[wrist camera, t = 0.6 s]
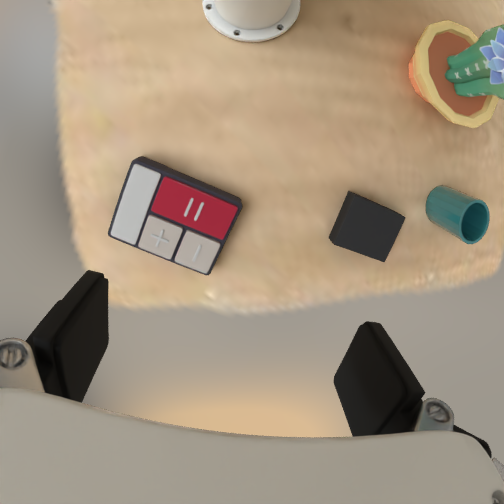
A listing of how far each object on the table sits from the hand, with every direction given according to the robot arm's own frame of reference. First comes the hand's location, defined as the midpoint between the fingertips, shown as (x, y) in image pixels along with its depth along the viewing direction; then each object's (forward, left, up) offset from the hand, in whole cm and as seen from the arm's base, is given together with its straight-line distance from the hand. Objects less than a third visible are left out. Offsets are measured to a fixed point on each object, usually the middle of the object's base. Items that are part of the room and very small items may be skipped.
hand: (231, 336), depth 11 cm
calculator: (+7, -6, -32) cm, 33 cm away
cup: (-8, +32, -32) cm, 46 cm away
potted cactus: (-26, +22, -32) cm, 47 cm away
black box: (0, +20, -32) cm, 38 cm away
